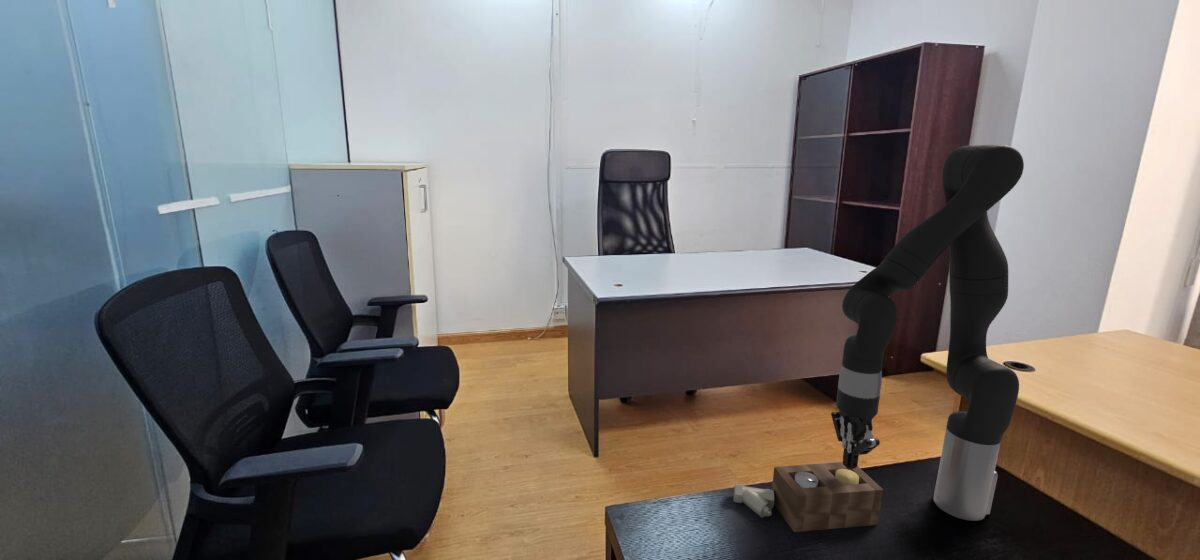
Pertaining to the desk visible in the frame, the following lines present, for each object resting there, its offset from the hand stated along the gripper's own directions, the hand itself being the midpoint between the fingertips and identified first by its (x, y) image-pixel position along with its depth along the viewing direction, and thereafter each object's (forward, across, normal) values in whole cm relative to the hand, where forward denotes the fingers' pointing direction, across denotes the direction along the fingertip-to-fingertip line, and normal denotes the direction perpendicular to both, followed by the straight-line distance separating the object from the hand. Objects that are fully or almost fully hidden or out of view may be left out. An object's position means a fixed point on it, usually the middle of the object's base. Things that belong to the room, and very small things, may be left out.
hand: (849, 466), depth 107 cm
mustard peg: (+10, 0, 0) cm, 10 cm away
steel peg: (+10, 0, +9) cm, 14 cm away
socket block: (+10, 0, +5) cm, 11 cm away
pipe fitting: (+10, +3, +19) cm, 22 cm away
